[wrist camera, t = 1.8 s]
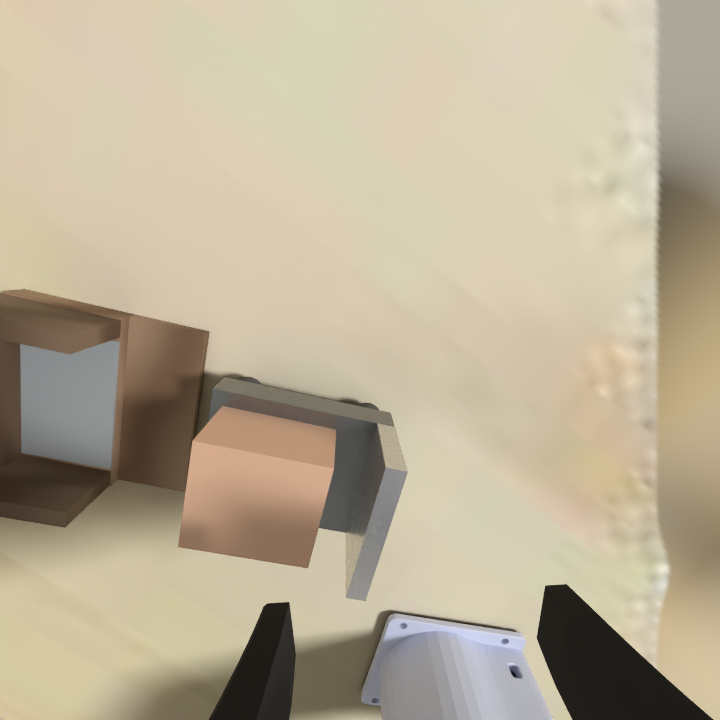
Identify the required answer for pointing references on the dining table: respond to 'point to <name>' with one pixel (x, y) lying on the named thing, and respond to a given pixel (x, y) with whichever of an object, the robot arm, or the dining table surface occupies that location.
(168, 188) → the dining table surface
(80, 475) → the dock
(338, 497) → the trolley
